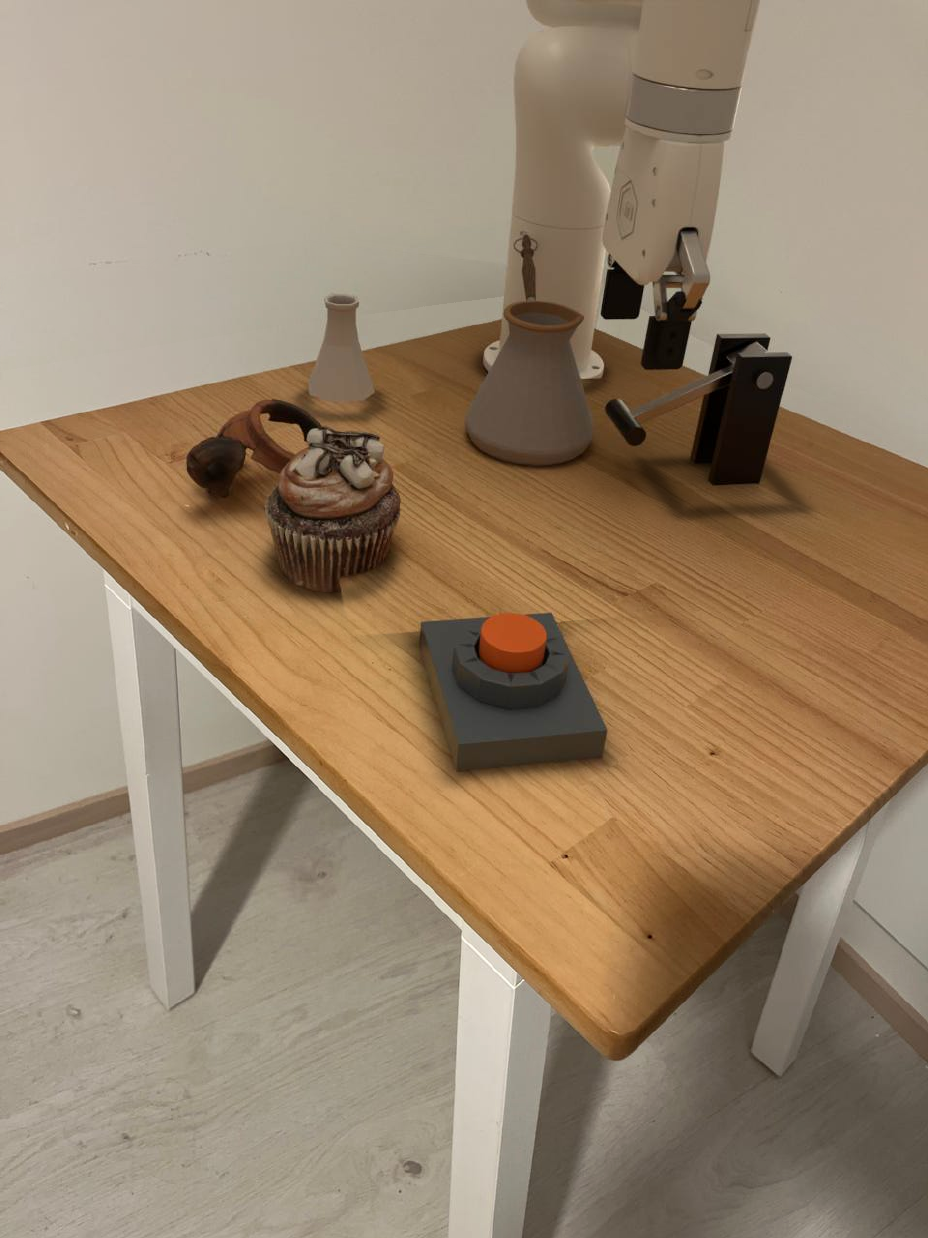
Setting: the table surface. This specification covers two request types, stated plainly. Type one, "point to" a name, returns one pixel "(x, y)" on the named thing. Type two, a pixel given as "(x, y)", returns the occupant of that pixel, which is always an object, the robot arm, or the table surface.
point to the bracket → (740, 411)
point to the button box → (509, 700)
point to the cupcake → (333, 509)
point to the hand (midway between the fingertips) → (639, 341)
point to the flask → (341, 355)
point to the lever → (670, 399)
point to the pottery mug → (244, 445)
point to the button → (512, 643)
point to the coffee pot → (533, 385)
